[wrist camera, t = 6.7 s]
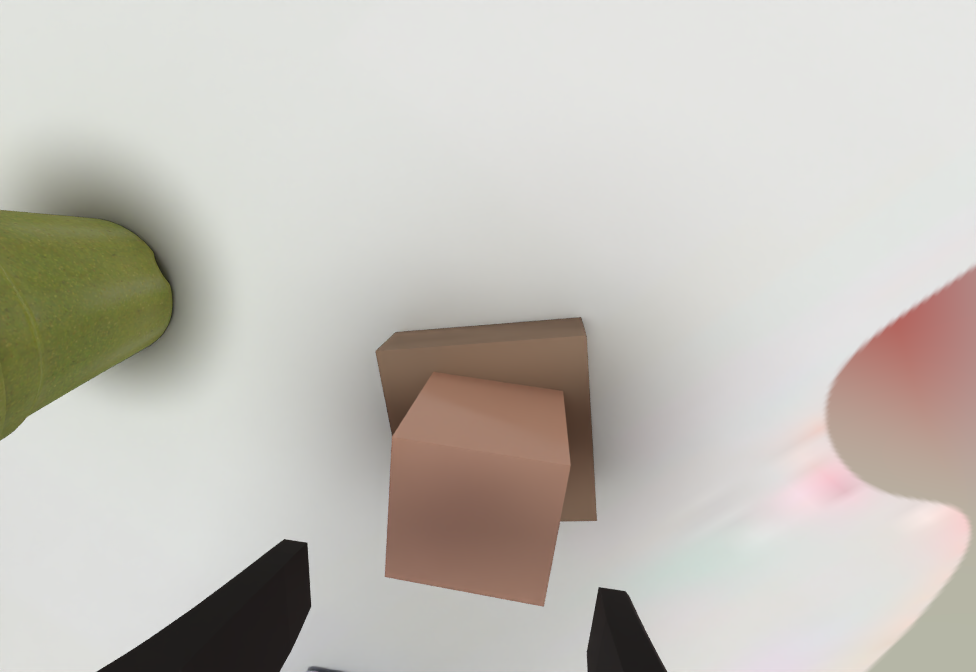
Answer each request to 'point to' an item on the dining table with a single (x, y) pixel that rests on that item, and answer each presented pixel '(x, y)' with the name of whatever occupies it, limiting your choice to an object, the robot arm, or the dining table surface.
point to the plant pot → (70, 306)
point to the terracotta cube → (478, 487)
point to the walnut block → (504, 379)
